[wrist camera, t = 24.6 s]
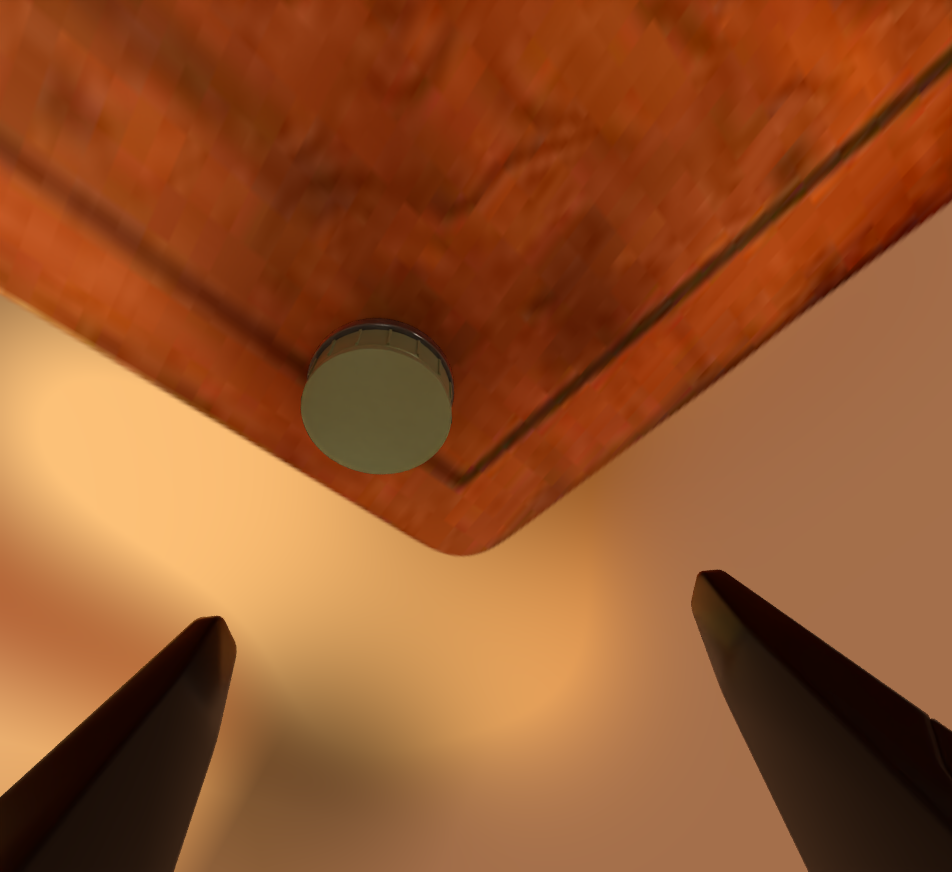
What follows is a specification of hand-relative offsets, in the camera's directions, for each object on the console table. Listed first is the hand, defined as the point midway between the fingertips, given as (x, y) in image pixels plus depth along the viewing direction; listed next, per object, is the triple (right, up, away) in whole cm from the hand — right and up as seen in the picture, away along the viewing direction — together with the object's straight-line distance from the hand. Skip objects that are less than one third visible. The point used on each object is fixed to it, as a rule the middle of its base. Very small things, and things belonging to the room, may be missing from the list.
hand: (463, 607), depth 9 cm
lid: (-4, +4, +10) cm, 12 cm away
